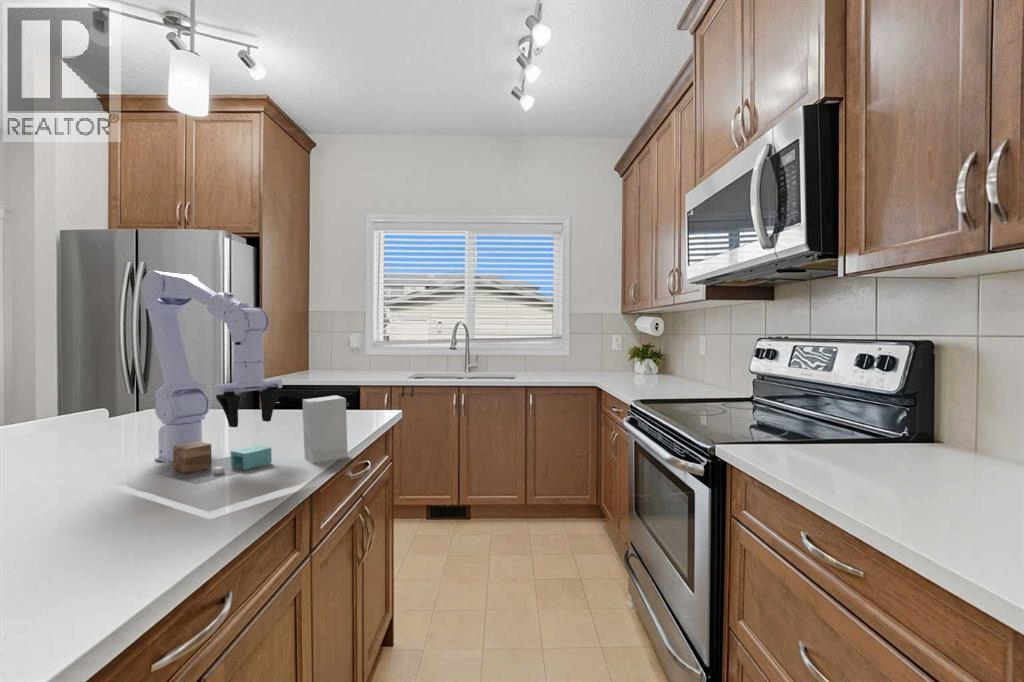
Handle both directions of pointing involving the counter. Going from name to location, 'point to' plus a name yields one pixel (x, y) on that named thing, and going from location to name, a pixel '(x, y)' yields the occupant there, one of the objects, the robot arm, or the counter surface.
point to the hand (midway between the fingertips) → (250, 423)
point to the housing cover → (251, 457)
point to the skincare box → (325, 429)
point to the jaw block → (192, 457)
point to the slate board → (209, 471)
